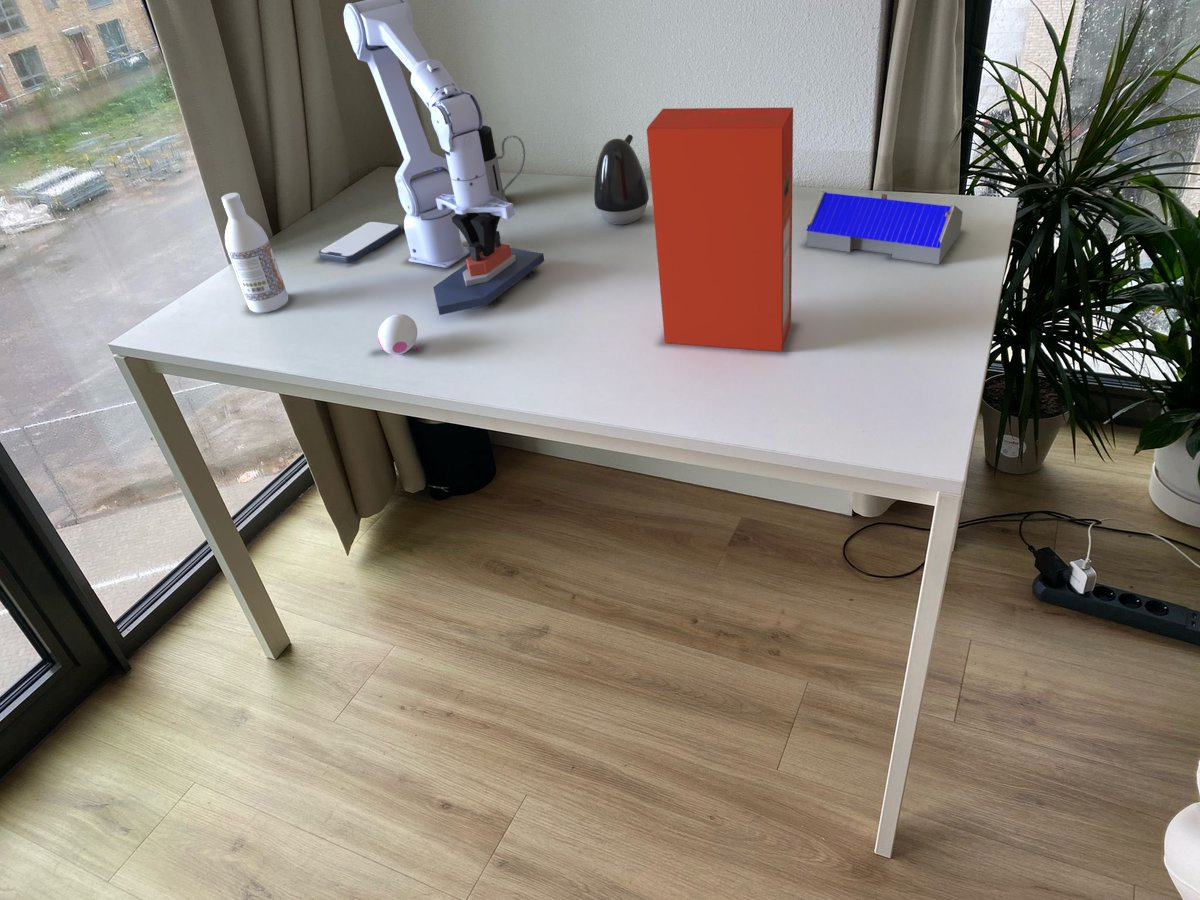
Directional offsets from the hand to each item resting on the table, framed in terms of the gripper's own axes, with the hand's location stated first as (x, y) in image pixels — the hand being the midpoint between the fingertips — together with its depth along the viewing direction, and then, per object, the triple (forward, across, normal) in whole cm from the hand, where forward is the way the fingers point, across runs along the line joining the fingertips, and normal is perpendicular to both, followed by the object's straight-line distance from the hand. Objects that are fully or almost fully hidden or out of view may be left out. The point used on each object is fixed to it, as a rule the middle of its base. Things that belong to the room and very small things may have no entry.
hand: (484, 253), depth 156 cm
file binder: (+6, +45, -1) cm, 45 cm away
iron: (+3, 0, 0) cm, 3 cm away
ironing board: (+6, 0, -2) cm, 7 cm away
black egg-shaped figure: (+6, +8, +32) cm, 34 cm away
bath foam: (+6, -35, -19) cm, 40 cm away
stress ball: (+6, -1, -23) cm, 24 cm away
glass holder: (+6, -21, +31) cm, 38 cm away
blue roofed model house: (+6, +56, +37) cm, 67 cm away
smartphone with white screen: (+6, -36, +6) cm, 37 cm away
